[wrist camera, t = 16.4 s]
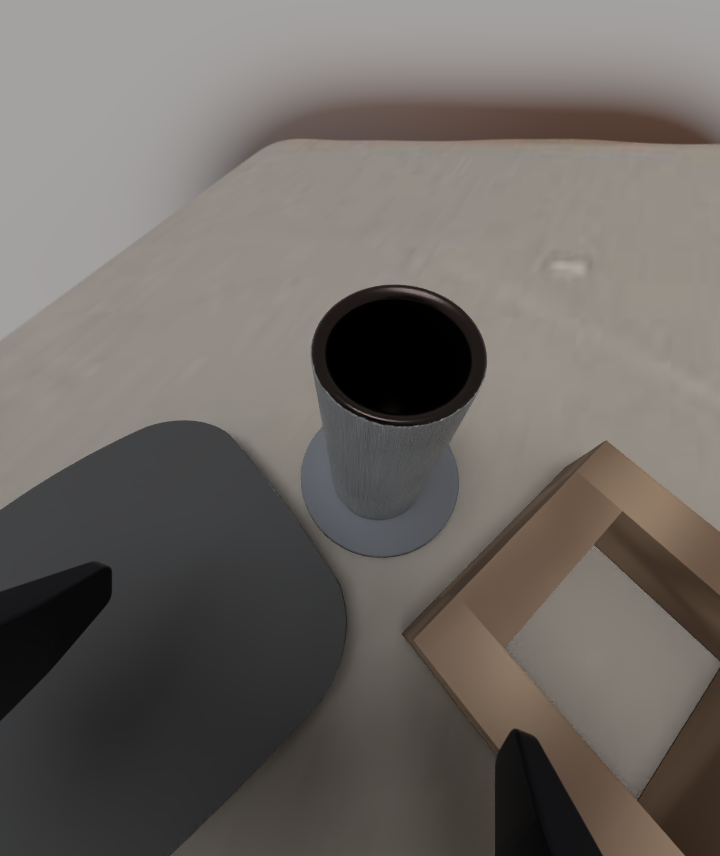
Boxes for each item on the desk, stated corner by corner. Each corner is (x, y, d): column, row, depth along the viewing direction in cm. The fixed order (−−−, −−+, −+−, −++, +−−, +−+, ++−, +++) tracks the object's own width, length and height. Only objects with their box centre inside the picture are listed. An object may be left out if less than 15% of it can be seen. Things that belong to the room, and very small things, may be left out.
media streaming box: (52, 959, 12) (-34, 1059, 10) (-63, 589, 17) (-141, 586, 14) (383, 635, 16) (388, 641, 14) (216, 413, 21) (196, 384, 19)
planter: (331, 437, 20) (310, 284, 10) (416, 433, 20) (470, 279, 10) (333, 523, 18) (309, 429, 8) (427, 518, 18) (507, 421, 8)
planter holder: (799, 670, 16) (910, 686, 13) (649, 949, 12) (751, 1069, 9) (565, 467, 20) (606, 440, 16) (401, 633, 16) (413, 640, 13)
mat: (487, 486, 19) (491, 482, 19) (371, 595, 17) (372, 594, 16) (384, 385, 22) (385, 380, 21) (272, 468, 19) (269, 464, 19)
